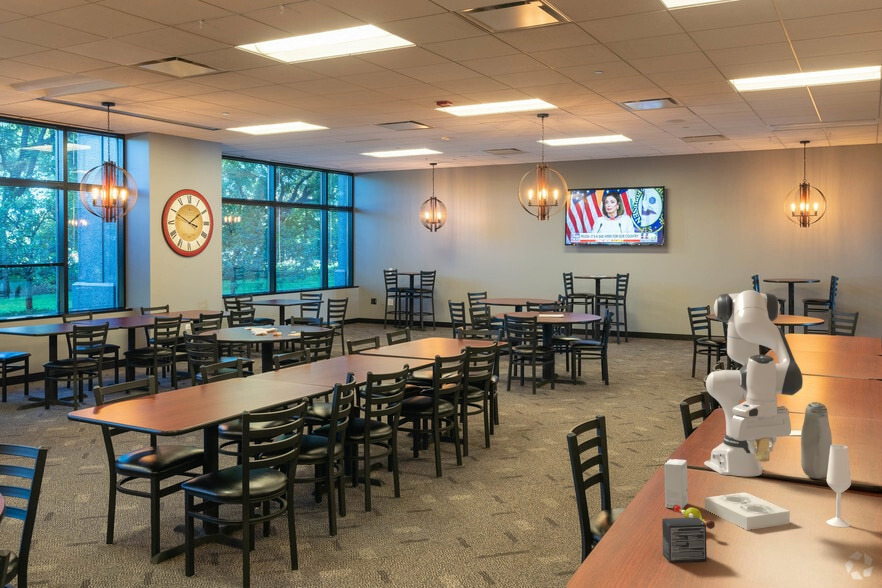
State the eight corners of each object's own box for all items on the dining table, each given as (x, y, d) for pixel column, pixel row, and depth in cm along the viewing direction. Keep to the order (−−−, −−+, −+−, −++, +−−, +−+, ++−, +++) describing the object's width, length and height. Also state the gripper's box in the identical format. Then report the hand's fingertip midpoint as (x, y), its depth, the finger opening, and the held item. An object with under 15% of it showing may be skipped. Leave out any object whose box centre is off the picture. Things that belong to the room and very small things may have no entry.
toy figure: (666, 521, 240) (666, 500, 240) (680, 519, 242) (680, 498, 242) (704, 541, 224) (704, 518, 223) (720, 538, 226) (720, 516, 225)
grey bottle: (834, 482, 278) (835, 405, 276) (804, 481, 280) (805, 405, 278) (826, 474, 287) (827, 400, 286) (797, 473, 290) (798, 399, 288)
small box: (698, 552, 216) (698, 516, 215) (707, 562, 209) (707, 524, 209) (661, 553, 215) (661, 517, 215) (669, 563, 209) (669, 525, 208)
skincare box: (682, 510, 251) (682, 465, 250) (663, 507, 254) (663, 463, 253) (688, 503, 258) (688, 459, 257) (669, 500, 261) (669, 457, 260)
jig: (704, 509, 251) (704, 497, 251) (745, 504, 256) (745, 492, 256) (746, 530, 232) (746, 517, 232) (789, 523, 237) (789, 511, 237)
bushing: (750, 458, 239) (751, 436, 239) (762, 457, 241) (762, 435, 241) (761, 462, 235) (761, 439, 235) (772, 460, 237) (772, 438, 236)
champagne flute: (829, 518, 241) (829, 442, 240) (852, 522, 237) (853, 445, 236) (823, 524, 236) (824, 447, 235) (848, 528, 232) (848, 450, 230)
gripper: (781, 403, 244) (780, 447, 244) (727, 408, 237) (727, 452, 238) (796, 407, 238) (795, 451, 238) (741, 412, 231) (741, 457, 232)
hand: (761, 452), depth 238 cm, fingers closed on bushing, 4 cm apart
